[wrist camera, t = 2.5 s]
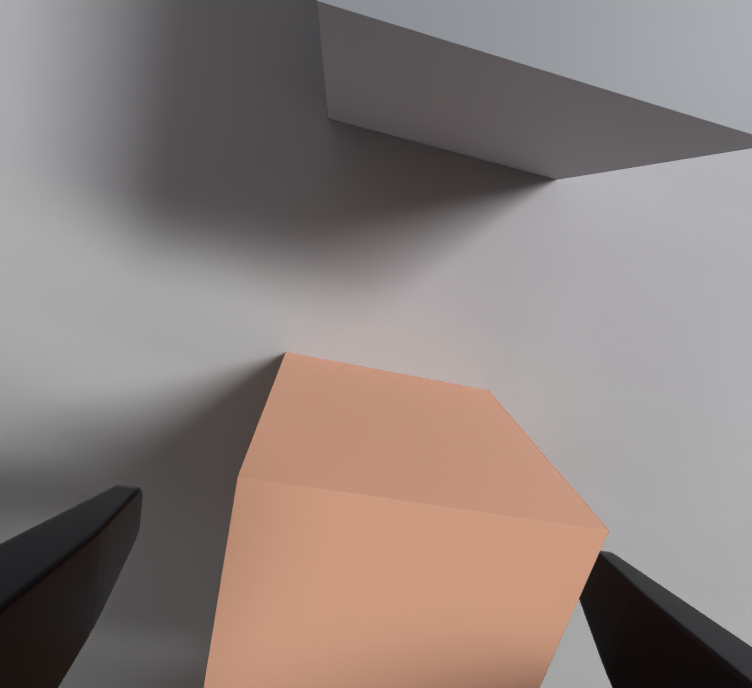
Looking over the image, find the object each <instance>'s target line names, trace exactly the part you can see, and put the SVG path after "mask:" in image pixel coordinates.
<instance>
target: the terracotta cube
mask: <svg viewBox="0 0 752 688" xmlns="http://www.w3.org/2000/svg"><path fill="white" fill-rule="evenodd" d="M608 532H609V530H608V528H607V527H606V526H605V525H604V524H603V523H602V521H601V520H600V519H599V518H598V517H597V516H596V514H595V513H594V512H593V511H592V510H591V509H590V507H589V506H588V505H587V504H586V503H585V502H584V500H583V499H582V498H581V497H580V496H579V495H578V494H577V492H576V491H575V490H574V489H573V488H572V487H571V485H570V484H569V483H568V482H567V481H566V480H565V478H564V477H563V476H562V475H561V474H560V473H559V471H558V470H557V469H556V468H555V467H554V466H553V465H552V463H551V462H550V461H549V460H548V459H547V458H546V456H545V455H544V454H543V453H542V452H541V451H540V449H539V448H538V447H537V446H536V445H535V444H534V442H533V441H532V440H531V439H530V438H529V437H528V435H527V434H526V433H525V432H524V431H523V430H522V429H521V427H520V426H519V425H518V424H517V423H516V422H515V420H514V419H513V418H512V417H511V416H510V415H509V413H508V412H507V411H506V410H505V409H504V408H503V406H502V405H501V404H500V403H499V402H498V401H497V399H496V398H495V397H494V396H493V395H492V394H491V393H490V391H489V390H483V389H478V388H473V387H467V386H462V385H457V384H452V383H446V382H441V381H436V380H430V379H425V378H420V377H414V376H409V375H404V374H398V373H393V372H388V371H383V370H377V369H372V368H367V367H361V366H356V365H351V364H345V363H340V362H335V361H329V360H324V359H319V358H313V357H308V356H303V355H298V354H292V353H287V352H286V353H285V355H284V358H283V361H282V363H281V366H280V368H279V371H278V374H277V376H276V379H275V381H274V384H273V387H272V389H271V392H270V394H269V397H268V399H267V402H266V405H265V407H264V410H263V412H262V415H261V418H260V420H259V423H258V425H257V428H256V431H255V433H254V436H253V438H252V441H251V444H250V446H249V449H248V451H247V454H246V456H245V459H244V462H243V464H242V467H241V469H240V472H239V475H238V478H237V484H236V490H235V497H234V503H233V509H232V515H231V521H230V527H229V534H228V540H227V546H226V552H225V558H224V565H223V571H222V577H221V583H220V589H219V595H218V602H217V608H216V614H215V620H214V626H213V633H212V639H211V645H210V651H209V657H208V663H207V670H206V676H205V682H204V688H540V685H541V683H542V681H543V679H544V676H545V674H546V672H547V670H548V667H549V665H550V663H551V661H552V658H553V656H554V654H555V652H556V649H557V647H558V645H559V642H560V640H561V638H562V636H563V633H564V631H565V629H566V627H567V624H568V622H569V620H570V618H571V615H572V613H573V611H574V609H575V606H576V604H577V602H578V600H579V597H580V595H581V593H582V591H583V588H584V586H585V584H586V581H587V579H588V577H589V575H590V572H591V570H592V568H593V566H594V563H595V561H596V559H597V557H598V554H599V552H600V550H601V548H602V545H603V543H604V541H605V539H606V536H607V534H608Z"/></svg>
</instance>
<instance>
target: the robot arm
mask: <svg viewBox="0 0 752 688" xmlns="http://www.w3.org/2000/svg"><path fill="white" fill-rule="evenodd" d="M142 496H143V494H142V490H141V489H140V488H138V487H131V486H123V485H117V486H115V487H112V488H110V489H108V490H106V491H104V492H102V493H100V494H98V495H96V496H94V497H92V498H90V499H88V500H86V501H84V502H82V503H80V504H78V505H76V506H75V507H73V508H71V509H69V510H67V511H65V512H63V513H61V514H59V515H57V516H55V517H53V518H51V519H49V520H47V521H45V522H43V523H41V524H39V525H37V526H35V527H33V528H31V529H29V530H27V531H25V532H23V533H21V534H19V535H17V536H15V537H13V538H11V539H9V540H7V541H5V542H3V543H1V544H0V688H58V687H59V685H60V683H61V682H62V680H63V678H64V677H65V675H66V673H67V672H68V670H69V668H70V667H71V665H72V663H73V662H74V660H75V658H76V657H77V655H78V653H79V652H80V650H81V648H82V647H83V645H84V643H85V642H86V640H87V638H88V637H89V635H90V633H91V631H92V629H93V628H94V626H95V624H96V622H97V620H98V618H99V616H100V614H101V612H102V610H103V608H104V606H105V603H106V601H107V599H108V597H109V595H110V593H111V591H112V589H113V587H114V584H115V582H116V580H117V578H118V576H119V574H120V572H121V570H122V567H123V565H124V563H125V561H126V559H127V557H128V555H129V553H130V551H131V548H132V546H133V544H134V542H135V540H136V537H137V535H138V531H139V527H140V518H141V507H142ZM579 600H580V602H581V605H582V608H583V611H584V614H585V616H586V619H587V622H588V625H589V627H590V630H591V633H592V636H593V639H594V641H595V644H596V647H597V650H598V652H599V655H600V658H601V661H602V663H603V666H604V669H605V671H606V674H607V676H608V678H609V681H610V683H611V685H612V688H752V647H751V646H750V645H748V644H747V643H745V642H744V641H742V640H741V639H739V638H738V637H736V636H735V635H733V634H732V633H730V632H729V631H727V630H726V629H724V628H723V627H721V626H720V625H718V624H717V623H716V622H714V621H713V620H711V619H710V618H708V617H707V616H705V615H704V614H702V613H701V612H699V611H698V610H696V609H695V608H693V607H692V606H690V605H689V604H687V603H686V602H684V601H683V600H682V599H680V598H679V597H677V596H676V595H674V594H673V593H671V592H670V591H668V590H667V589H665V588H664V587H662V586H661V585H659V584H658V583H656V582H655V581H653V580H652V579H650V578H649V577H647V576H646V575H645V574H643V573H642V572H640V571H639V570H637V569H636V568H634V567H633V566H631V565H630V564H628V563H627V562H625V561H624V560H622V559H621V558H619V557H618V556H616V555H615V554H613V553H611V552H606V551H600V552H599V554H598V557H597V559H596V561H595V563H594V566H593V568H592V570H591V572H590V575H589V577H588V579H587V581H586V584H585V586H584V588H583V591H582V593H581V595H580V597H579Z"/></svg>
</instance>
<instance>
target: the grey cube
mask: <svg viewBox="0 0 752 688" xmlns="http://www.w3.org/2000/svg"><path fill="white" fill-rule="evenodd" d="M316 1H317V11H318V22H319V32H320V42H321V52H322V62H323V72H324V82H325V92H326V102H327V112H328V118H329V119H332V120H336V121H340V122H344V123H347V124H351V125H355V126H358V127H362V128H366V129H370V130H373V131H377V132H381V133H385V134H388V135H392V136H396V137H400V138H403V139H407V140H411V141H414V142H418V143H422V144H426V145H429V146H433V147H437V148H441V149H444V150H448V151H452V152H455V153H459V154H463V155H467V156H470V157H474V158H478V159H482V160H485V161H489V162H493V163H497V164H500V165H504V166H508V167H511V168H515V169H519V170H523V171H526V172H530V173H534V174H538V175H541V176H545V177H549V178H552V179H556V180H558V179H564V178H570V177H576V176H582V175H589V174H595V173H601V172H607V171H613V170H619V169H626V168H632V167H638V166H644V165H650V164H657V163H663V162H669V161H675V160H681V159H688V158H694V157H700V156H706V155H712V154H719V153H725V152H731V151H737V150H743V149H750V148H752V0H316Z"/></svg>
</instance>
